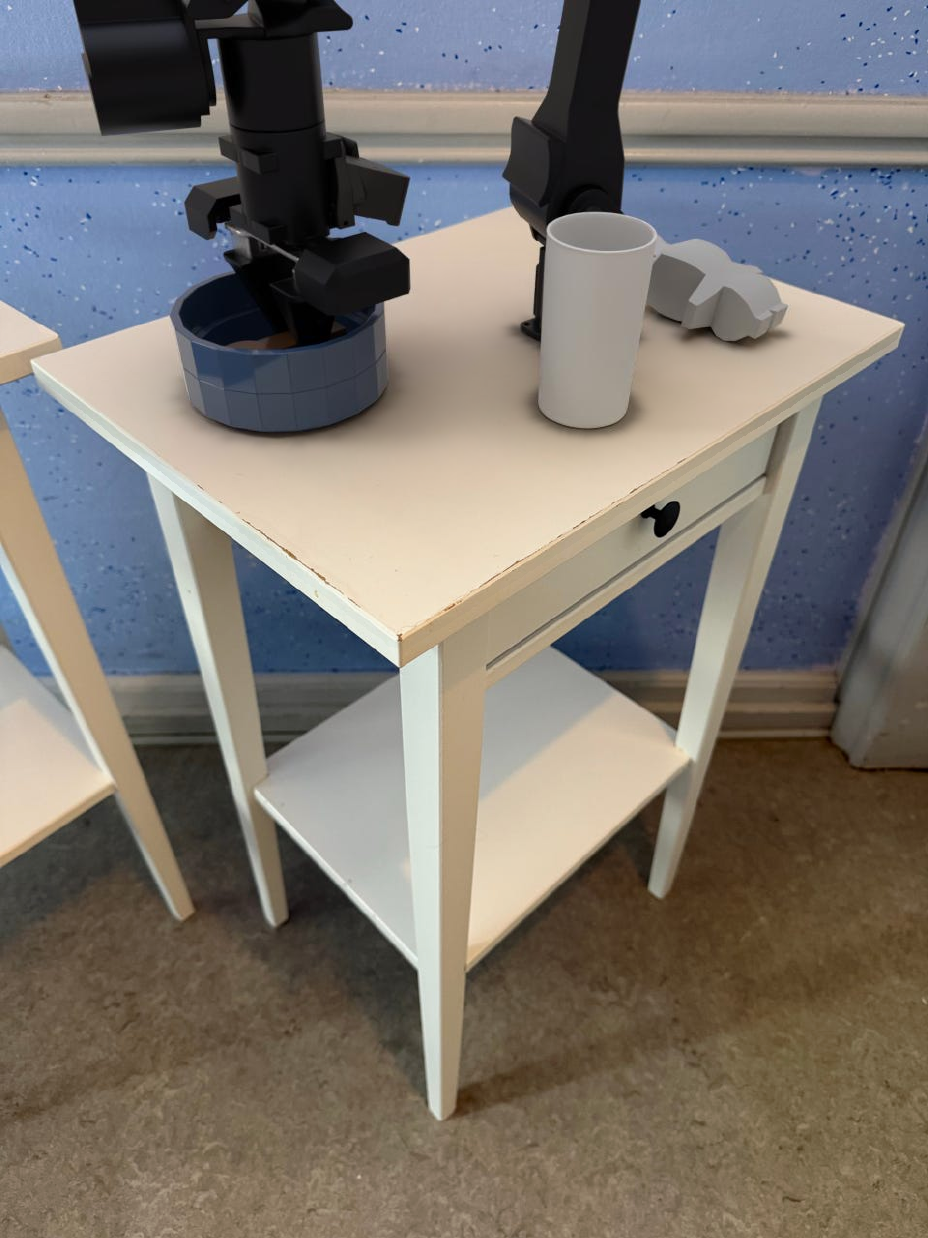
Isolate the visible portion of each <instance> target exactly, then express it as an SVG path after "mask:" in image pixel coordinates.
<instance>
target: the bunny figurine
mask: <svg viewBox="0 0 928 1238" xmlns="http://www.w3.org/2000/svg"><path fill="white" fill-rule="evenodd" d="M763 273H764V271H762V270H761V269H760V268H759V267H758V266H756V265H751V264H743V263H738V262H735V261H732V259H731V258H730V256H729V255H728V253H727V252H726V251H725V250H724V249H722V248H721V247H719V246H718V245H717V244H715V243H712V242H710V241H708V240H705V239H700V238H692V239H688V240H684V241H680V242H676V243H672V244H668V243H667V242H666V241H665V240H664V238H663V237H662V236H661V235H659V234H658V233H657V239H656V244H655V251H654V258H653V265H652V271H651V277H650V282H649V288H648V294H647V299H646V302H647V305H649V307H651V308H652V309H653V310H655V311H656V312H658V313H659V314H660V315H663V316H664V317H667V318H669V319H672V320H674V321H678V322H681V324H680V327H682V328H685V329H689V330H692V329H700V328H707V327H709V328H710V327H711V329H712V331H713V333H714V334H715V336H716V337H717V338H719V339H721V340H722V341H723V342H724V341H725V342H736V341H739V340H741V339H744V338H746V337H750V338H753V339H754V340H755V339H758V338H759V337H761V336H762V335H764V334H766V333H767V331H768V330H771V331H772V330H773V329H775V328H776V327H778V326H779V325H781V324H782V323H783V320H784V318H785V315H786V312H787V310H788V307H789V305H788V304H786V303H784V302H782V299H781V296H780V293H779V291H778V287H776V285H775V284H774V283H773V281H772V280H771V278H769V277H767V276H765V275H763Z"/></svg>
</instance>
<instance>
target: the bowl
mask: <svg viewBox="0 0 928 1238" xmlns="http://www.w3.org/2000/svg"><path fill="white" fill-rule="evenodd" d="M385 306H386V305H385V302H382V303H379V304H376V305H373V306H369V307H366V308H363V309H360V310H357V311H354V312H351V313H348V314H345V315H342V316H335V319H334V320H335V321H336V322H338V323H340V324H341V325H343V326H344V327H346V332H347V335H344V336H341V337H338V338H336V339H333V340H330V341H327V342H324V343H321V344H317V345H310V346H304V347H298V348H292V349H286V350H248V349H241V348H233V347H226V346H227V345H229V344H232V343H235V342H239V341H258V340H260V339H264V338H267V337H270V336H273V335H276V334H275V332H274V330H273V329H272V327H271V326H270V324H269V323H268V321H267V319H266V318H265V316H264V315H263V313H262V311H261V310H260V309H259V307H258V305H257V304H256V302H255V301H254V299H253V298H252V296H251V295H250V293H249V292H248V290H247V289H246V288H245V286H244V285H243V283H242V282H241V280H240V279H239V277H238V276H237V274H236V273H235V271H234V270H233V269H232V270H230V271H227V272H223V273H219V274H215V275H213V276H210V277H209V278H206V279H204V280H202V281H200V282H198V283H196V284H194V285H192V286H190V287H189V288H188V289H186V290H185V291H184V292H183V293H181V295H179V296H178V297H177V298H175V301H174V303H173V305H172V308H171V310H170V313H169V319H170V323H171V328H172V332H173V336H174V341H175V346H176V351H177V355H178V359H179V364H180V369H181V373H182V377H183V378H182V379H183V383H184V386H185V390H186V394H187V397H188V400H189V402H190V404H191V405H192V406H193V407H194V408H195V409H197V410H198V411H199V412H200V413H201V414H202V415H204V416H205V417H206V418H208V419H211V420H214V421H216V422H219V423H221V424H224V425H226V426H229V427H232V428H236V429H237V428H238V429H242V430H247V431H251V432H260V433H295V432H296V433H297V432H304V431H310V430H316V429H319V428H323V427H328V426H331V425H333V424H337V423H339V422H342V421H345V420H347V419H349V418H351V417H353V416H355V415H358V414H359V413H361V412H362V411H364V410H365V409H366V408H368V407H370V406H371V405H372V404H374V403H375V402H376V401H378V399H379V398H380V396H381V395H382V394H383V392H384V391H385V389H386V388H387V386H388V383H389V365H388V364H389V362H388V347H387V346H388V344H387V327H386V326H387V325H386V323H387V322H386V307H385Z"/></svg>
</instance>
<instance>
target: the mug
mask: <svg viewBox="0 0 928 1238" xmlns="http://www.w3.org/2000/svg"><path fill="white" fill-rule="evenodd" d="M657 234H658V232H657V230H656V229H655V227H653V226H652V225H651V224H650V223H648V222H647V221H644V220H642V219H640V218H637V217H634V216H631V215H626V214H625V215H622V214H616V213H607V212H584V213H575V214H570V215H566V216H562V217H560V218H557V219H555V220H553V221H552V222H551V223H550V224H549V225H548V227H547V240H546V253H545V271H544V292H543V313H542V334H541V341H540V352H539V376H538V397H537V398H538V400H537V403H538V407H539V410H540V411H541V412H542V414H543V415H544V416H545V417H546V418H548V419H550V420H551V421H553V422H555V423H557V424H559V425H563V426H567V427H570V428H571V427H572V428H578V429H597V428H603V427H607V426H610V425H614V424H615V423H618V422H619V421H620V420H621V419H623V418H624V417H625V415H626V413H627V411H628V407H629V401H630V395H631V390H632V386H633V385H632V384H633V379H634V374H635V368H636V363H637V362H636V361H637V357H638V352H639V344H640V339H641V334H642V328H643V322H644V316H645V310H646V304H647V294H648V288H649V282H650V277H651V271H652V265H653V260H654V251H655V244H656V239H657Z"/></svg>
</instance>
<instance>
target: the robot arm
mask: <svg viewBox="0 0 928 1238" xmlns="http://www.w3.org/2000/svg"><path fill="white" fill-rule="evenodd" d="M72 3H73V8H74V12H75V16H76V23H77V26H78V31H79V36H80V40H81V43H82V48H83V52H82V53H80V55H81V60H82V64H83V68H84V72H85V78H86V81H87V85H88V89H89V94H90V97H91V101H92V105H93V109H94V113H95V116H96V121H97V125H98V128H99V132H100V136H101V137H108V136H119V135H131V134H140V133H153V132H163V131H164V132H165V131H175V130H184V129H186V130H187V129H196V128H201V127H202V117H205V116H211V107H216V106H217V101H218V99H217V98H218V97H217V87H216V80H215V79H216V78H215V73H214V68H213V63H212V57H211V52H210V46H209V41H208V40H216V46H217V52H218V60H219V66H220V72H221V73H220V74H221V79H222V85H223V91H224V93H223V94H224V98H225V99H224V100H225V105H226V110H227V111H226V112H227V119H228V127H229V133H230V134H227V135H221V136H218V147H219V151H220V155H221V156H223V157H224V158H226V159H229V160H231V161H233V162H234V166H235V171H236V176H230V177H226V178H223V179H218V180H213V181H208V182H205V183H200V184H196V185H193V186H192V188H191V189H190V191H189V193H188V195H187V197H186V198H185V200H184V202H183V204H184V209H185V215H186V219H187V226H188V229H189V231H191V232H192V233H194V234H195V235H197V236H199V237H200V238H202V239H203V240H205V241H210V240H215V238H216V235H217V233H218V231H219V230H218V224H224V226H223V227H224V229H225V230H227V231H229V234H230V241H231V245H232V246H231V247H232V249H228V250H225V251H223V253H222V256H223V259H224V261H225V262H226V263H227V264H228V265H230V267H231V268H232V271H233V270H234V271H235V273H236V274H237V276H238V277H239V279H240V280H241V282H242V283H243V285H244V286H245V288H246V289H247V290H248V292H249V293H250V295H251V296H252V298H253V299H254V301H255V302H256V304H257V305H258V307H259V309H260V310H261V311H262V313H263V315H264V316H265V318H266V319H267V321H268V323H269V324H270V326H271V327H272V329H273V330H274V332H275V334H279V333H282V332H285V331H288V330H290V332H291V334H292V336H293V338H294V341H295V343H296V345H297V347H304V346H310V345H317V344H321V343H324V342H327V341H329V338H330V335H331V331H332V327H333V323H334V319H335V316H342V315H345V314H348V313H351V312H354V311H357V310H360V309H363V308H366V307H369V306H373V305H376V304H379V303H382V302H384V303H385V302H388V301H391V300H394V299H397V298H400V297H403V296H406V295H409V294H410V291H411V264H410V263H411V261H410V258H409V257H408V256H407V255H406V254H405V253H403V252H402V251H401V250H400V249H399V247H396V246H395V245H393V244H390V243H389V242H387V241H384V240H383V239H380V238H378V237H377V236H374V235H373V234H371V233H369V232H367V231H363V232H359V233H355V234H351V235H348V236H344V237H340V236H339V237H337V236H336V237H331V236H330V235H331V230H332V229H338V230H340V231H341V230H345V229H349V228H352V227H355V226H356V217H359V218H360V217H361V218H367V219H371V220H377V221H382V222H386V224H387V225H388V226H393V227H400V226H401V225H400V224H401V221H402V216H403V212H404V208H405V203H406V200H407V199H406V198H407V196H408V195H407V194H408V190H409V185H410V181H411V177H410V176H409V175H407V174H405V173H402V172H400V171H397V170H395V169H392V168H391V167H389V166H386V165H383V164H381V163H379V162H375V161H372V160H370V159H367V158H364V157H361V156H360V152H359V151H360V150H359V146H358V142H357V141H356V140H354V139H351V138H349V137H346V136H344V135H342V134H337V133H334V132H329V131H327V125H326V117H325V103H324V93H323V80H322V69H321V68H322V67H321V57H320V47H319V44H320V43H319V33H328V32H343V31H346V32H347V31H349V30H352V28H353V26H354V18H353V17H352V15H351V14H349V13H348V12H346V10H344V9H343V8H342V7H341V6H340V5H339V4H338V2H336V1H335V0H72ZM641 3H642V0H563V6H562V11H561V16H560V22H559V26H558V34H557V39H556V45H555V51H554V56H553V63H552V68H551V75H550V81H549V84H548V85H549V86H548V89H547V92H546V94H545V96H544V98H543V100H542V101H541V104H540V105H539V107H538V109H537V110H536V112H534V113H535V114H534V115H533V117H532V118H531V119H528V118H525V117H521V116H518V115H516V116H514V117H513V118H512V123H511V129H510V151H509V152H510V153H509V156H508V160H507V164H506V166H505V168H504V170H503V172H502V174H501V177H502V178H503V179H504V181H506V182H508V183H509V184H508V185H509V186H508V187H509V190H508V191H509V193H508V194H509V199H510V203H511V205H512V206H513V208H514V210H515V211H516V213H517V214H518V216H519V217H520V218H521V219H522V220H524V221H525V222H526V223H527V224H528V227H529V230H530V233H531V238H532V239H533V240H534V241H536V242H539V243H540V244H541V245H542V246H540V247H539V253H538V257H539V258H538V263H537V264H536V266H535V275H534V293H533V309H532V315H533V316H534V317H533V318H530V319H527V320H524V321H522V322H520V325H519V326H520V331H521V332H523V333H525V334H527V335H529V336H531V337H533V338H535V339H537V340H539V341H540V342H541V334H542V313H543V292H544V271H545V253H546V240H547V227H548V225H549V224H550V223H551V222H552V221H553V220H555V219H557V218H560V217H562V216H566V215H570V214H575V213H584V212H607V213H616V214H622V215H626V214H625V213H624V212H623V211H622V205H623V204H622V203H623V193H624V182H625V169H626V157H625V150H624V143H623V135H622V128H621V121H620V113H619V110H620V100H621V96H622V91H623V87H624V86H623V85H624V82H625V77H626V73H627V67H628V64H629V59H630V55H631V50H632V45H633V41H634V36H635V31H636V26H637V23H638V17H639V14H640V9H641ZM246 4H247V11H246V12H244V13H238V14H236V13H237V12H238V11H239V10H241V8H242V7H244V5H246ZM355 216H356V217H355Z"/></svg>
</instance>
